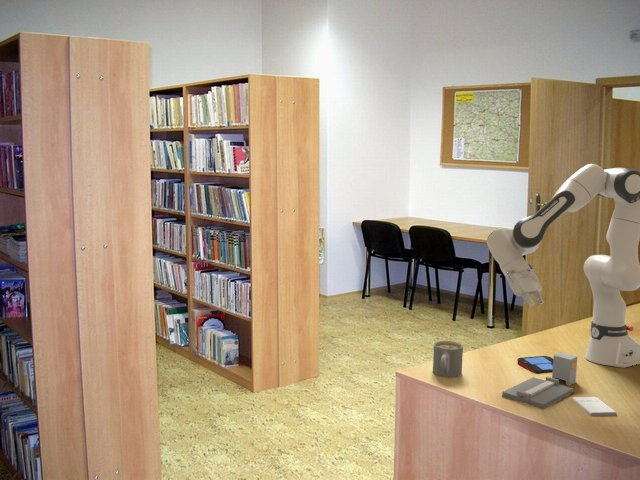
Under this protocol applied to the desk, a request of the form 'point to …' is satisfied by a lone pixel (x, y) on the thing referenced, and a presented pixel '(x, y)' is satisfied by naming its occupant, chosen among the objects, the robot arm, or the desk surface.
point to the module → (565, 367)
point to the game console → (537, 364)
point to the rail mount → (538, 392)
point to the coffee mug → (447, 358)
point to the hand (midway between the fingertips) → (537, 304)
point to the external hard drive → (593, 406)
